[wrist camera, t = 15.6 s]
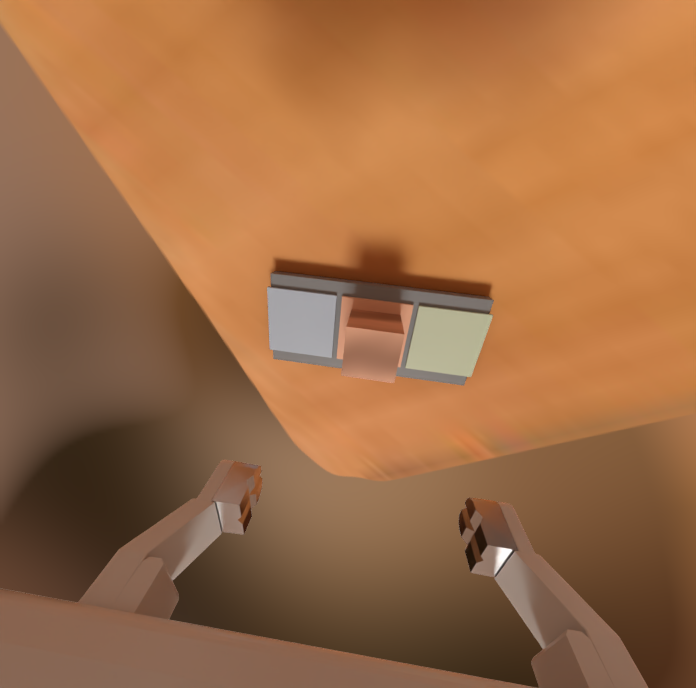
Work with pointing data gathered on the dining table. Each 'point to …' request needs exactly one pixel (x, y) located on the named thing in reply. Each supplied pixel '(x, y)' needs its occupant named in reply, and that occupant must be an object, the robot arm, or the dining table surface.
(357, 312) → the terracotta cube
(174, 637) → the robot arm
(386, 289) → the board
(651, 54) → the dining table surface
